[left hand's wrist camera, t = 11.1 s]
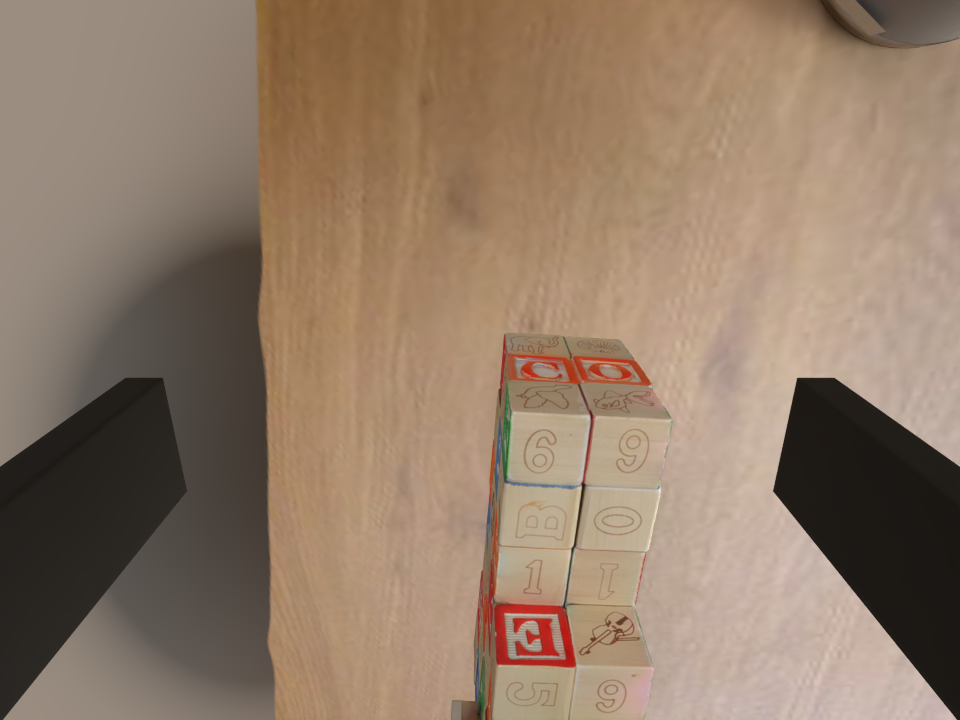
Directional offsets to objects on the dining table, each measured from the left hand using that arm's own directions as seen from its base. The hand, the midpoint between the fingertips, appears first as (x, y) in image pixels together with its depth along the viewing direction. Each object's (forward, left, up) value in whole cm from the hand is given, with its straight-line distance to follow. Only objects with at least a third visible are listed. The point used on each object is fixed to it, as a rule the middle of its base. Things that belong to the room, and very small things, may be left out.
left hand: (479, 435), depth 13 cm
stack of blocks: (+13, +7, -18) cm, 23 cm away
